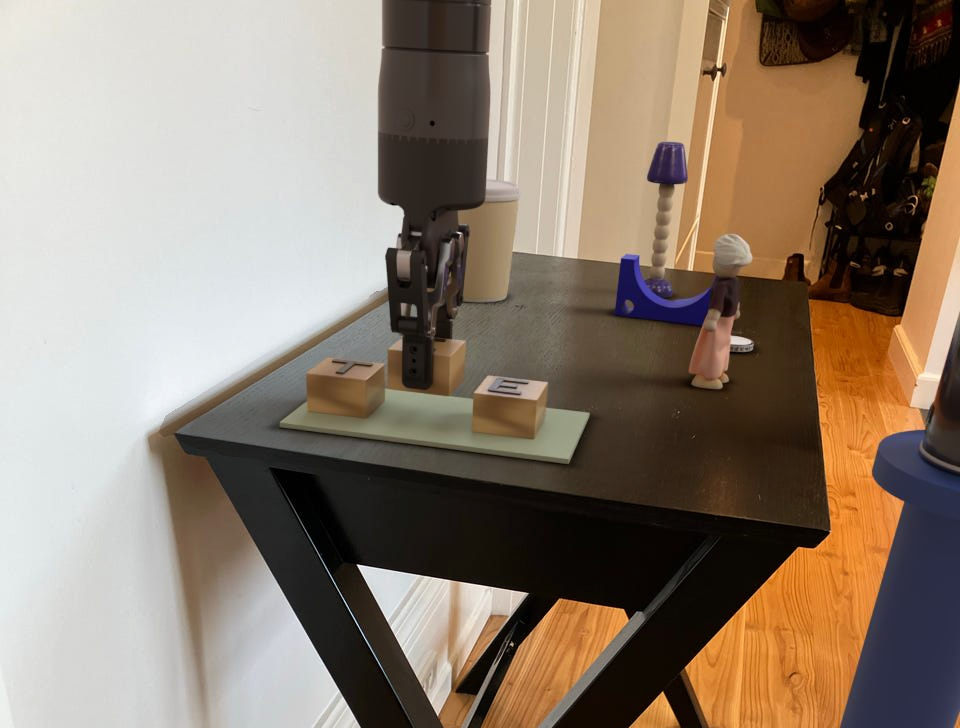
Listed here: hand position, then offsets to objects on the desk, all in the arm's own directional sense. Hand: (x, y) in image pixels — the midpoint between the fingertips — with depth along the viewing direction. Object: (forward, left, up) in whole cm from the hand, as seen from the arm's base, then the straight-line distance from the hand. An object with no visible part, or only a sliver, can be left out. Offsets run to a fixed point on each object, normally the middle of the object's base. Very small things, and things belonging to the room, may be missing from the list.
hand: (427, 376), depth 77 cm
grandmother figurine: (-21, -19, -4) cm, 29 cm away
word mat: (-1, 0, -3) cm, 4 cm away
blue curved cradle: (-16, -44, -4) cm, 47 cm away
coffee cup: (+7, -45, -4) cm, 46 cm away
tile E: (-7, 0, -3) cm, 7 cm away
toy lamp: (-13, -55, -4) cm, 57 cm away
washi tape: (-23, -33, -4) cm, 40 cm away
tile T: (+6, 0, -3) cm, 7 cm away
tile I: (0, 0, -1) cm, 1 cm away
